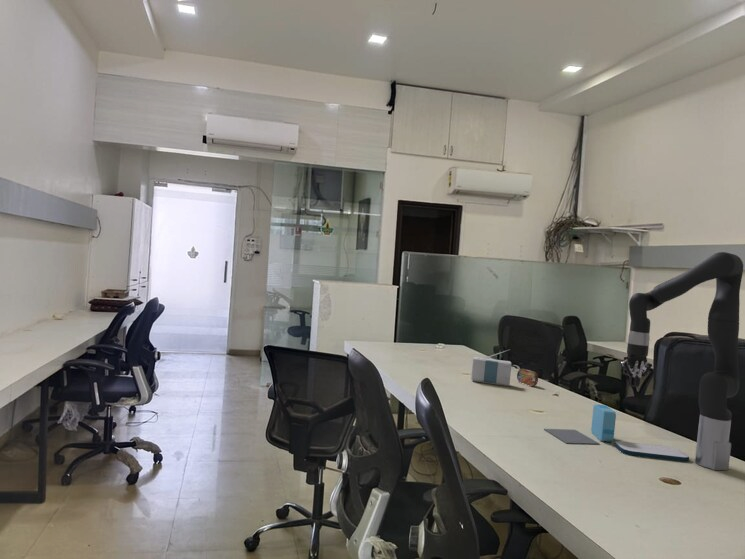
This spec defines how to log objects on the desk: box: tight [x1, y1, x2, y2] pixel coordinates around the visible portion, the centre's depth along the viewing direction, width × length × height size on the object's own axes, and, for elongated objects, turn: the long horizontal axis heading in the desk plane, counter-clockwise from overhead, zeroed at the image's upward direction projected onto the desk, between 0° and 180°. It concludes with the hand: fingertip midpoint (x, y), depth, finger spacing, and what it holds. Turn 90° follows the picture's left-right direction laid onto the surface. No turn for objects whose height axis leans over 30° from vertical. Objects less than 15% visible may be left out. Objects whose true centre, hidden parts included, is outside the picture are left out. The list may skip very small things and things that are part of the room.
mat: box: [543, 428, 600, 445], centre depth 203 cm, size 16×14×1 cm
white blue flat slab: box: [614, 440, 690, 463], centre depth 191 cm, size 24×12×2 cm, turn 85°
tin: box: [516, 368, 539, 387], centre depth 298 cm, size 15×3×8 cm, turn 25°
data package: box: [590, 403, 617, 443], centre depth 205 cm, size 12×4×12 cm, turn 175°
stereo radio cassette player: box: [470, 349, 512, 387], centre depth 292 cm, size 21×8×20 cm, turn 73°
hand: (633, 386), depth 207 cm, fingers closed
